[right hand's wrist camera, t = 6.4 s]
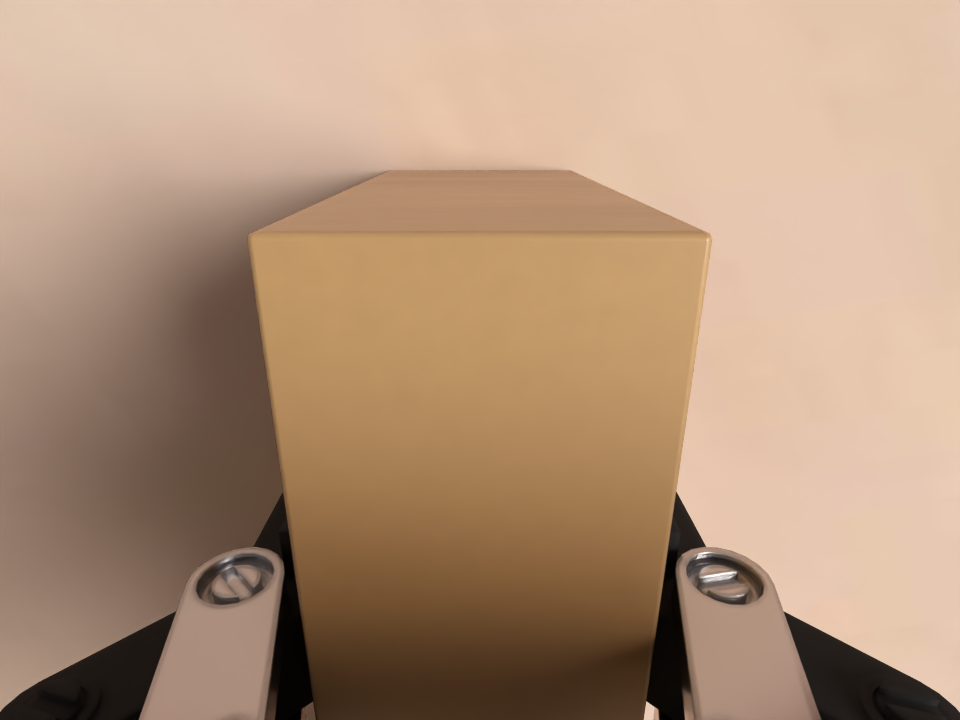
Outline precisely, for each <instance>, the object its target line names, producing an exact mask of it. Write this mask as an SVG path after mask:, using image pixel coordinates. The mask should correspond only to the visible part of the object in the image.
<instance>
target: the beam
mask: <svg viewBox="0 0 960 720" xmlns="http://www.w3.org/2000/svg"><path fill="white" fill-rule="evenodd" d="M247 243H248V250H249V257H250V263H251V270H252V277H253V284H254V291H255V298H256V305H257V312H258V319H259V326H260V333H261V340H262V347H263V354H264V361H265V368H266V375H267V382H268V389H269V396H270V403H271V410H272V417H273V424H274V431H275V438H276V445H277V452H278V459H279V466H280V473H281V480H282V487H283V494H284V501H285V508H286V514H287V521H288V528H289V535H290V542H291V549H292V556H293V563H294V570H295V577H296V584H297V591H298V598H299V605H300V612H301V619H302V626H303V633H304V640H305V647H306V654H307V661H308V668H309V675H310V682H311V689H312V696H313V703H314V710H315V717H316V720H644V713H645V706H646V699H647V692H648V685H649V678H650V671H651V664H652V657H653V650H654V643H655V636H656V629H657V622H658V615H659V608H660V601H661V594H662V587H663V580H664V573H665V566H666V559H667V552H668V545H669V538H670V531H671V524H672V517H673V510H674V503H675V496H676V489H677V482H678V475H679V468H680V461H681V454H682V447H683V440H684V433H685V426H686V418H687V411H688V404H689V397H690V390H691V383H692V376H693V369H694V362H695V355H696V348H697V341H698V334H699V327H700V320H701V313H702V306H703V299H704V292H705V285H706V278H707V271H708V264H709V257H710V250H711V243H712V239H711V235H710V234H709V233H707V232H705V231H703V230H700V229H698V228H696V227H694V226H692V225H689V224H687V223H685V222H683V221H681V220H678V219H676V218H674V217H672V216H670V215H667V214H665V213H663V212H661V211H659V210H656V209H654V208H652V207H650V206H648V205H645V204H643V203H641V202H639V201H637V200H634V199H632V198H630V197H628V196H626V195H623V194H621V193H619V192H617V191H615V190H613V189H610V188H608V187H606V186H604V185H602V184H599V183H597V182H595V181H593V180H591V179H588V178H586V177H584V176H582V175H580V174H577V173H575V172H573V171H387V172H385V173H382V174H380V175H378V176H376V177H374V178H371V179H369V180H367V181H365V182H363V183H360V184H358V185H356V186H354V187H352V188H349V189H347V190H345V191H343V192H340V193H338V194H336V195H334V196H332V197H329V198H327V199H325V200H323V201H321V202H318V203H316V204H314V205H312V206H310V207H307V208H305V209H303V210H301V211H298V212H296V213H294V214H292V215H290V216H287V217H285V218H283V219H281V220H279V221H276V222H274V223H272V224H270V225H268V226H265V227H263V228H261V229H259V230H257V231H254V232H252V233H250V234H249V236H248V239H247Z"/></svg>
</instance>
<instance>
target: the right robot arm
mask: <svg viewBox="0 0 960 720" xmlns="http://www.w3.org/2000/svg"><path fill="white" fill-rule="evenodd" d="M312 701H313V696H312V689H311V682H310V675H309V668H308V661H307V654H306V647H305V640H304V633H303V626H302V619H301V612H300V605H299V598H298V591H297V584H296V577H295V570H294V563H293V556H292V549H291V542H290V535H289V528H288V521H287V514H286V508H285V501H284V494H283V493H282V495H281V497H280V499H279V500H278V502H277V504H276V506H275V508H274V510H273V512H272V513H271V515H270V517H269V519H268V521H267V523H266V525H265V526H264V528H263V530H262V532H261V534H260V536H259V537H258V539H257V541H256V543H255V545H254V547H245V548H239V549H234V550H230V551H227V552H224V553H222V554H220V555H217V556H215V557H213V558H211V559H210V560H208V561H207V562H205V563H203V564H202V565H201V566H200V567H199V568H198V569H197V570H196V571H195V572H194V573H193V574H192V575H191V576H190V578H189V580H188V582H187V583H186V586H185V588H184V591H183V594H182V597H181V600H180V603H179V606H178V609H177V611H176V612H174V613H172V614H170V615H168V616H166V617H164V618H162V619H160V620H158V621H157V622H155V623H153V624H151V625H149V626H147V627H145V628H143V629H141V630H139V631H137V632H135V633H133V634H131V635H129V636H127V637H126V638H124V639H122V640H120V641H118V642H116V643H114V644H112V645H110V646H108V647H106V648H104V649H102V650H100V651H98V652H96V653H94V654H93V655H91V656H89V657H87V658H85V659H83V660H81V661H79V662H77V663H75V664H73V665H71V666H69V667H67V668H65V669H63V670H62V671H60V672H58V673H56V674H54V675H52V676H50V677H48V678H46V679H44V680H42V681H40V682H39V683H37V684H35V685H34V686H32V687H30V688H29V689H27V690H25V691H24V692H22V693H21V694H19V695H18V696H17V697H16V698H15V699H14V700H12V701H11V702H10V703H9V704H8V705H7V706H5V707H4V708H3V709H2V711H1V712H0V720H306V710H305V706H307V705H308V704H310V703H311V702H312ZM646 701H647V702H649V703H650V704H651V705H653V706H654V707H655V710H654V720H960V712H959V711H958V710H957V709H956V708H955V707H954V706H953V705H952V704H951V703H950V702H948V701H947V700H946V699H945V698H944V697H942V696H941V695H940V694H939V693H937V692H936V691H934V690H933V689H931V688H929V687H928V686H926V685H924V684H923V683H921V682H919V681H918V680H916V679H914V678H912V677H910V676H908V675H906V674H904V673H902V672H900V671H898V670H896V669H894V668H892V667H890V666H888V665H887V664H885V663H883V662H881V661H879V660H877V659H875V658H873V657H871V656H869V655H867V654H865V653H863V652H861V651H859V650H857V649H855V648H854V647H852V646H850V645H848V644H846V643H844V642H842V641H840V640H838V639H836V638H834V637H832V636H830V635H828V634H826V633H824V632H822V631H821V630H819V629H817V628H815V627H813V626H811V625H809V624H807V623H805V622H803V621H801V620H799V619H797V618H795V617H793V616H791V615H790V614H788V613H786V612H784V611H783V609H782V606H781V603H780V600H779V597H778V594H777V591H776V588H775V586H774V583H773V582H772V580H771V578H770V576H769V575H768V574H767V573H766V572H765V571H764V570H763V569H762V568H761V567H760V566H759V565H758V564H757V563H755V562H753V561H752V560H750V559H749V558H747V557H745V556H743V555H740V554H738V553H736V552H733V551H730V550H726V549H721V548H715V547H706V546H705V544H704V542H703V540H702V538H701V536H700V535H699V533H698V531H697V529H696V527H695V525H694V523H693V522H692V520H691V518H690V516H689V514H688V512H687V511H686V509H685V507H684V505H683V503H682V501H681V499H680V498H679V496H678V494H677V492H676V496H675V503H674V510H673V517H672V524H671V531H670V538H669V545H668V552H667V559H666V566H665V573H664V580H663V587H662V594H661V601H660V608H659V615H658V622H657V629H656V636H655V643H654V650H653V657H652V664H651V671H650V678H649V685H648V692H647V699H646Z"/></svg>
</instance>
